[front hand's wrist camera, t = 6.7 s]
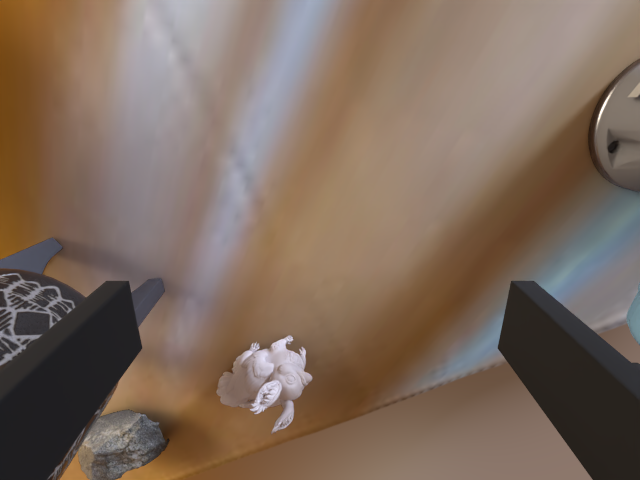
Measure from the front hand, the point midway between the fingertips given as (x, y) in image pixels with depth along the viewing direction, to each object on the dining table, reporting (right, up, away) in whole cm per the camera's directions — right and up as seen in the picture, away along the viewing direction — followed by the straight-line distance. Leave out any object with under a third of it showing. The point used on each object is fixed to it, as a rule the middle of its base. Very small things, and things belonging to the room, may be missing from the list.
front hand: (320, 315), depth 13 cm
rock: (-29, -26, +44) cm, 59 cm away
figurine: (-8, -14, +40) cm, 43 cm away
